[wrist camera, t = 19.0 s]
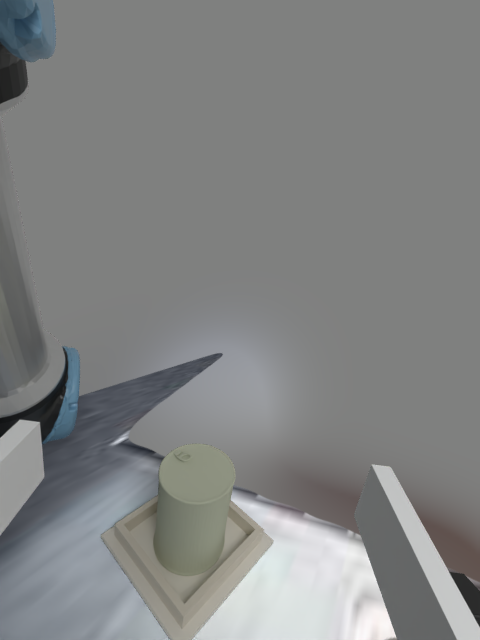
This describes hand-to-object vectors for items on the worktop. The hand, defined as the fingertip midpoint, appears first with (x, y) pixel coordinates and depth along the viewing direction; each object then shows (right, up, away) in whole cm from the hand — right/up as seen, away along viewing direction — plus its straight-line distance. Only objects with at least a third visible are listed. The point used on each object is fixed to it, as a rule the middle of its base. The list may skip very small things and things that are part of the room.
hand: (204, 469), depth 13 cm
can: (-5, -23, +29) cm, 37 cm away
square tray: (-5, -23, +29) cm, 38 cm away
